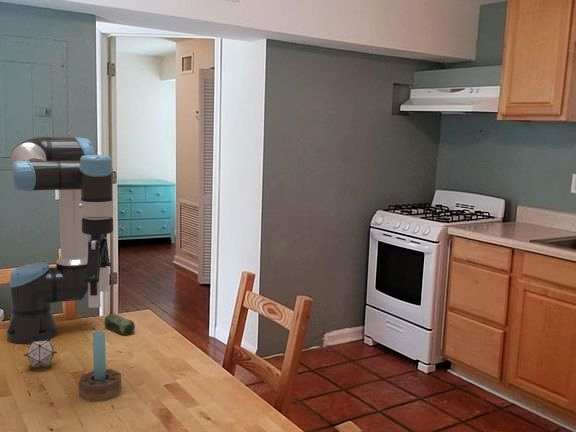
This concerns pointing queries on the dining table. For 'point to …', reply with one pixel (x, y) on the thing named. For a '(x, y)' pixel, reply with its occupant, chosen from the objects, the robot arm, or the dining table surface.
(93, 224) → the robot arm
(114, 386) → the bead
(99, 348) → the teal rounded stick
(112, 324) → the vegetable
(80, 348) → the dining table surface
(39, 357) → the game die
